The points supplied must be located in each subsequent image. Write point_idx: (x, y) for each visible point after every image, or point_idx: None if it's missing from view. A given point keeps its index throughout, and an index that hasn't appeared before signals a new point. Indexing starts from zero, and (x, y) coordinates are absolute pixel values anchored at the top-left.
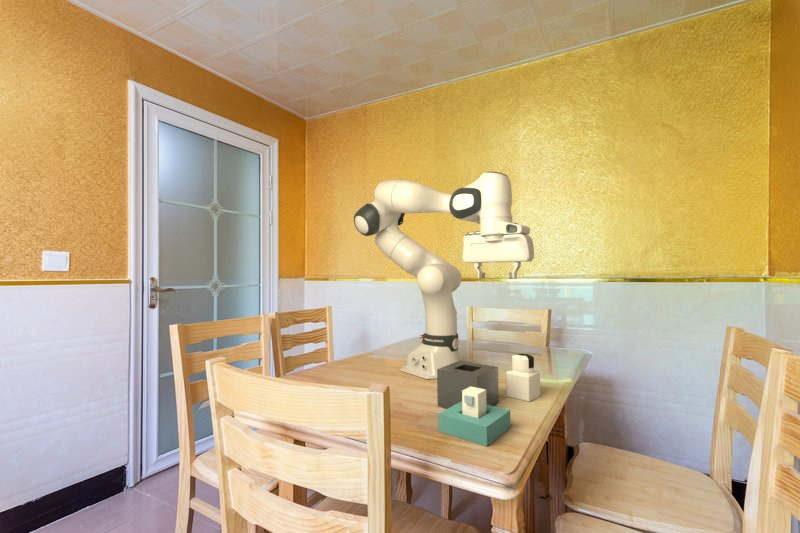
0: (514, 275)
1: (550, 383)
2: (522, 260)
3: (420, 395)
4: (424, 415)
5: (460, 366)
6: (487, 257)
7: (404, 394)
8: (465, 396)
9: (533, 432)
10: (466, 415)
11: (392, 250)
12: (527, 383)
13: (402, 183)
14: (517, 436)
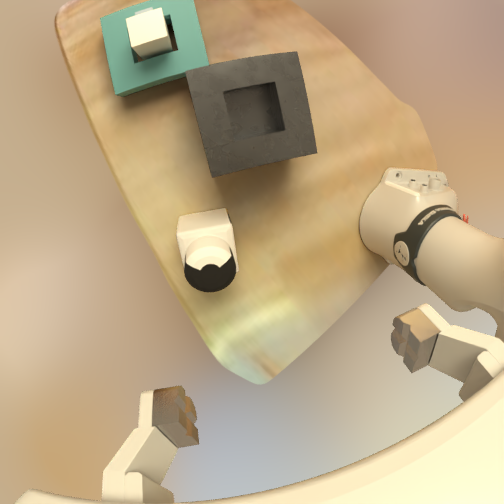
0: (142, 410)
1: (222, 322)
2: (48, 497)
3: (336, 87)
4: (255, 22)
5: (281, 113)
6: (443, 468)
7: (357, 73)
8: (149, 8)
9: (91, 114)
10: None
11: None
12: (179, 227)
13: None
14: (98, 83)
